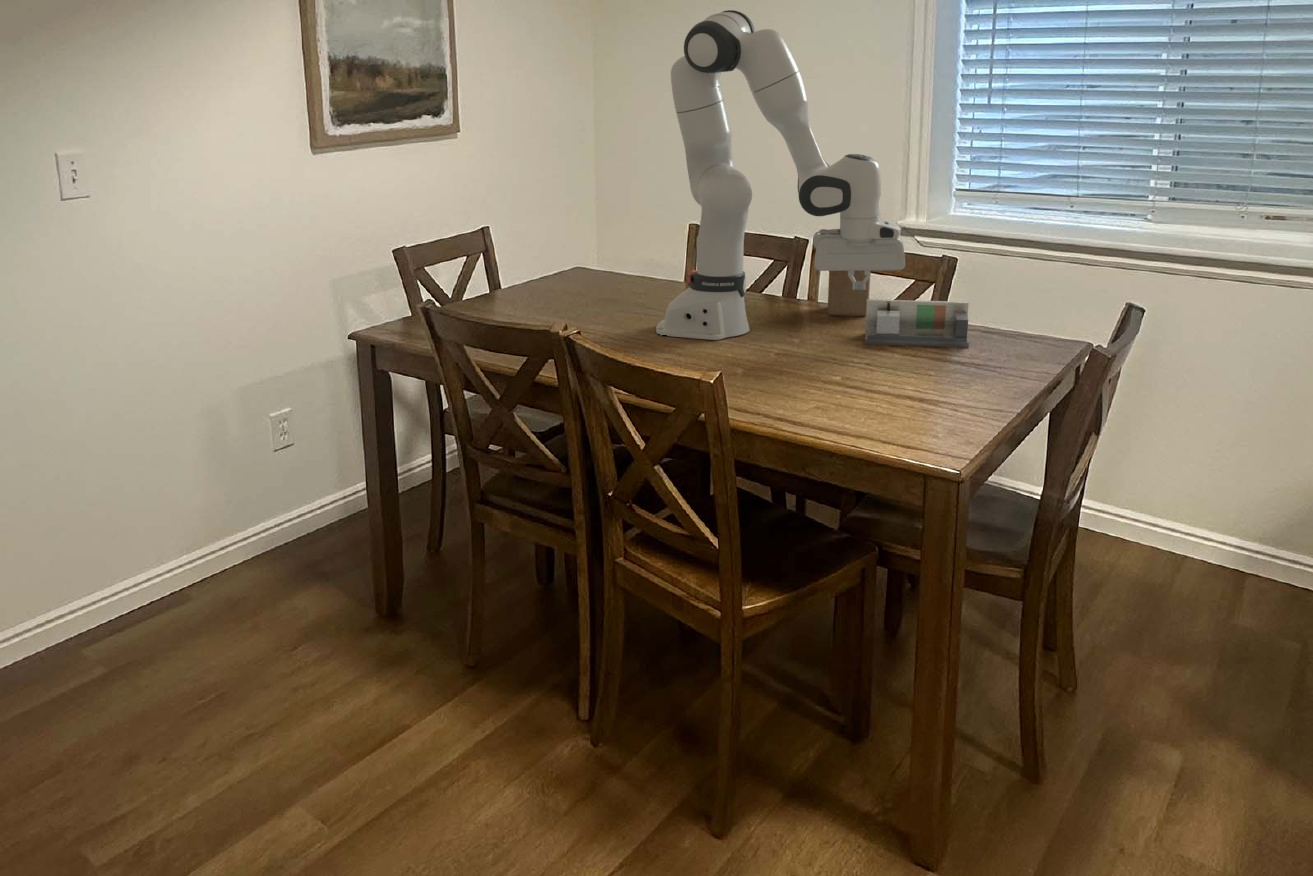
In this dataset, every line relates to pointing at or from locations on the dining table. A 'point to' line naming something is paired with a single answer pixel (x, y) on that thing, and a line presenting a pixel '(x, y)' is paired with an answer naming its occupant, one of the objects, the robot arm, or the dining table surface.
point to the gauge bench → (921, 323)
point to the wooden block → (847, 294)
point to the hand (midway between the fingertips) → (859, 289)
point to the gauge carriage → (888, 322)
